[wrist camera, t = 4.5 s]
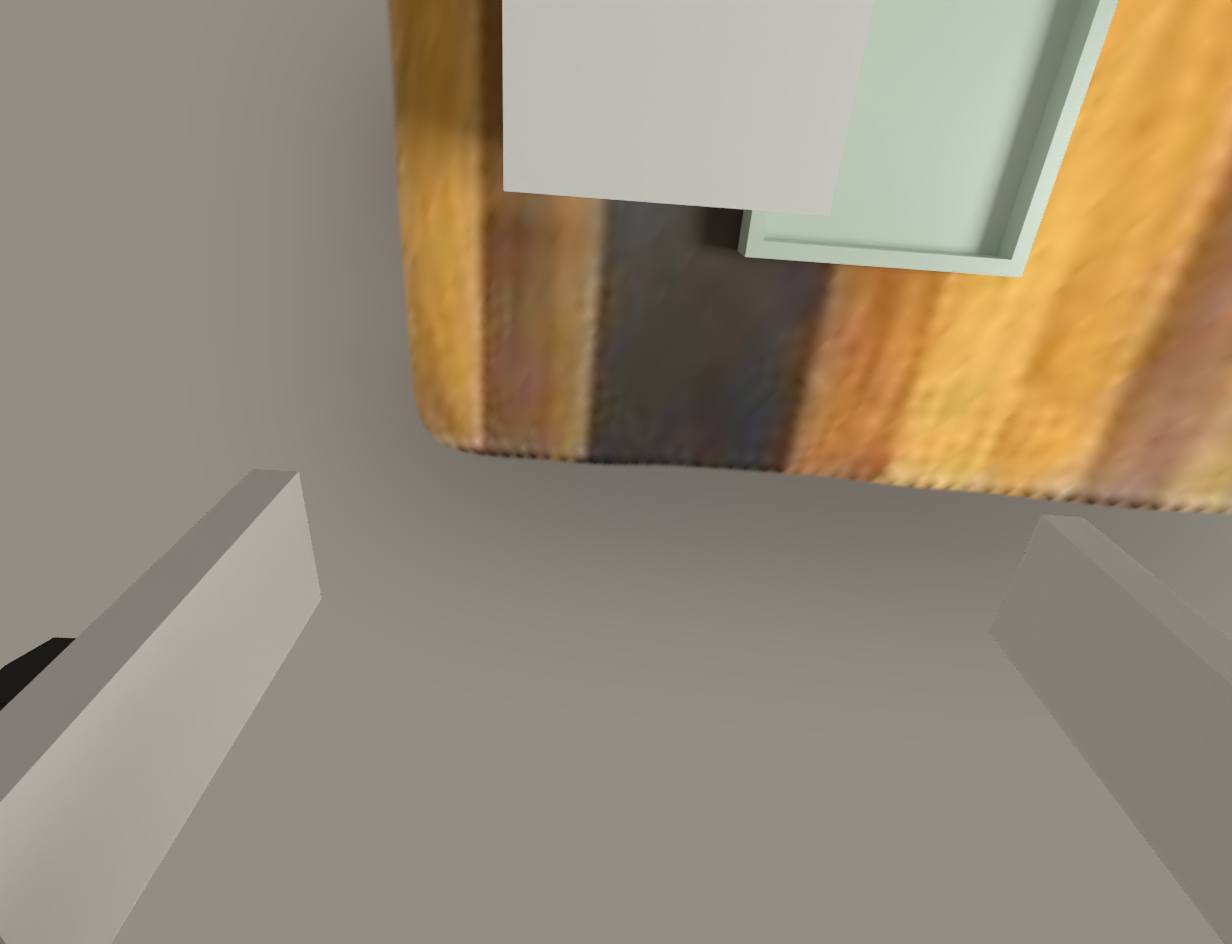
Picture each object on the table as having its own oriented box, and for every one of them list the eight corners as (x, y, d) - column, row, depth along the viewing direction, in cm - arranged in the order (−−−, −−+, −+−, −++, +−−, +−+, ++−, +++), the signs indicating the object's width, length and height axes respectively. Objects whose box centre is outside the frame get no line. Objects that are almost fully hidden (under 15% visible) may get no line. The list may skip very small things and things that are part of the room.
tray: (790, -99, 24) (803, -115, 22) (1111, -66, 24) (1146, -81, 23) (737, 250, 30) (745, 256, 28) (999, 270, 30) (1021, 277, 29)
